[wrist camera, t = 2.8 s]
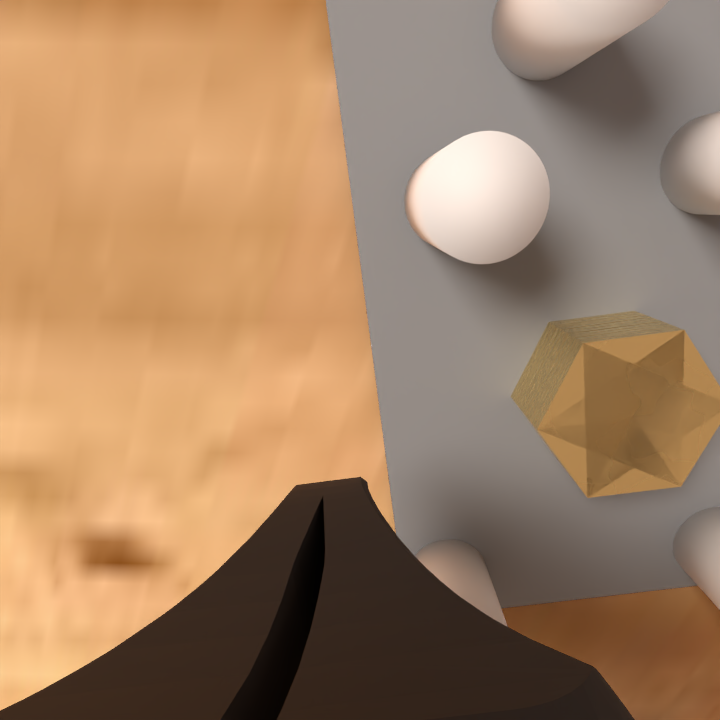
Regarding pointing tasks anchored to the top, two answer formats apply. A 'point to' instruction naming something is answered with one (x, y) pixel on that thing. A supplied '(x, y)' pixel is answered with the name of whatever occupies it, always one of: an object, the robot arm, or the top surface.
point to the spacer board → (529, 268)
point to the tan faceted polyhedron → (620, 401)
